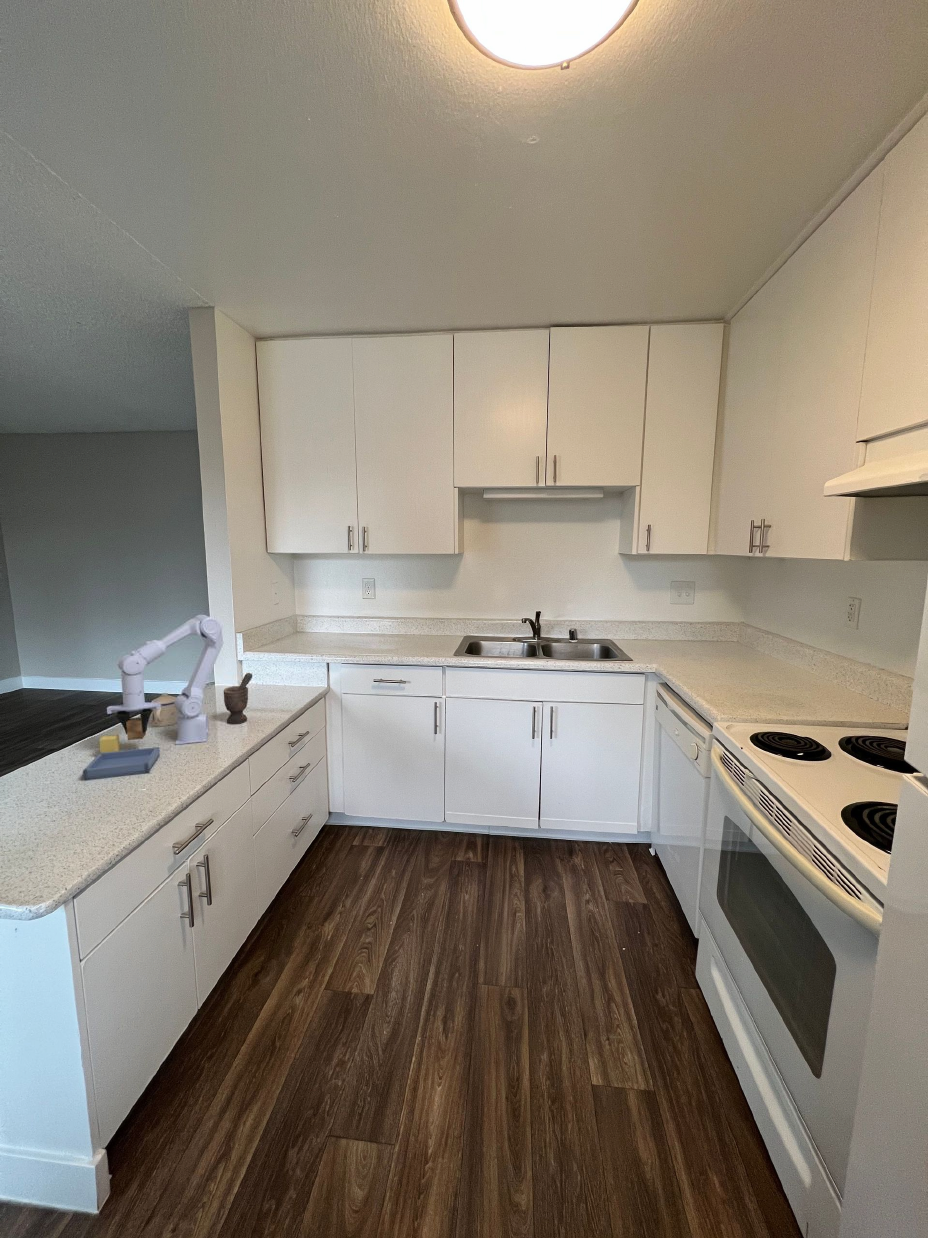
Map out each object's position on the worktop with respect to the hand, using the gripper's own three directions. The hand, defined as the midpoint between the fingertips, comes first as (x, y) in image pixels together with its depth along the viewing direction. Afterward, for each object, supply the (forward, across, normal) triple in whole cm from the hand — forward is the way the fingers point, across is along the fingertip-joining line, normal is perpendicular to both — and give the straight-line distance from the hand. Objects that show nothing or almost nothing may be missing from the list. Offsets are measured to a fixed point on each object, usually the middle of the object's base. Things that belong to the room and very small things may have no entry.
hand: (136, 732), depth 157 cm
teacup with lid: (+7, -2, -27) cm, 28 cm away
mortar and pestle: (+7, -29, -22) cm, 37 cm away
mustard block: (+7, +8, 0) cm, 10 cm away
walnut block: (+2, 0, 0) cm, 2 cm away
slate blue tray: (+7, +1, +12) cm, 14 cm away
